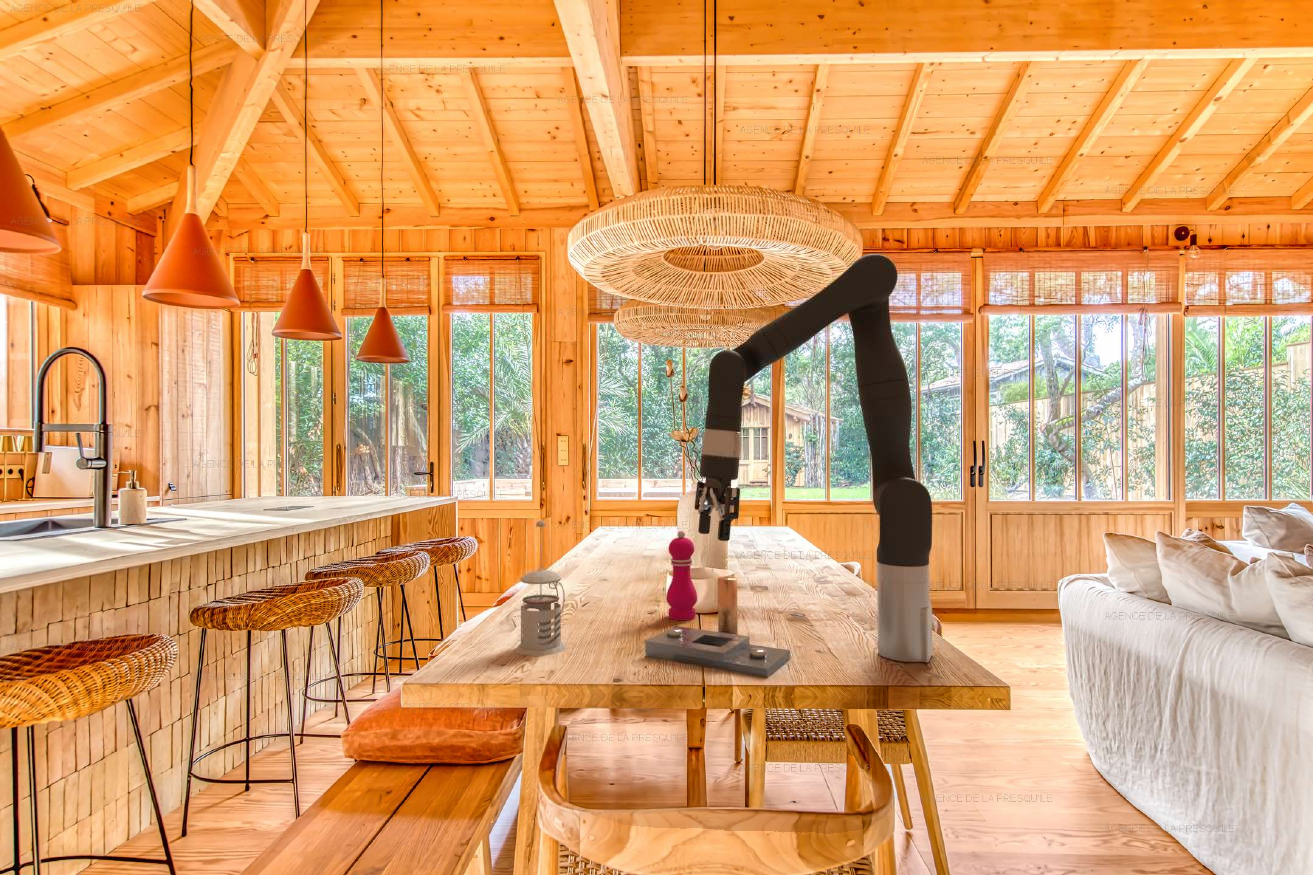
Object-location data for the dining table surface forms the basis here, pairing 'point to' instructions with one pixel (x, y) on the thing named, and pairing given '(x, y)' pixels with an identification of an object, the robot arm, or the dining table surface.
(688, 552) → the pepper mill
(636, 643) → the dining table surface
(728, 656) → the upper link
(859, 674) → the dining table surface
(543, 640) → the french press
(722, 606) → the copper pin
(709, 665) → the lower link
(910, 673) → the dining table surface
